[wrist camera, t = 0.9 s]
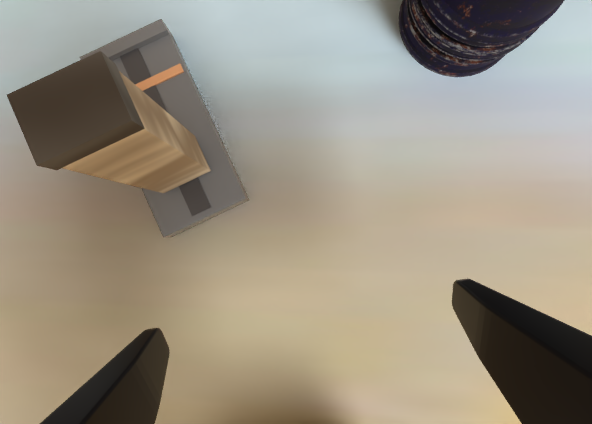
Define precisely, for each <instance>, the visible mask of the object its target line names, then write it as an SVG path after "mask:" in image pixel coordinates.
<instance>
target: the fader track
mask: <svg viewBox="0 0 592 424" xmlns="http://www.w3.org/2000/svg"><path fill="white" fill-rule="evenodd" d="M99 51H101V52H103V53H104V54H105V55H106V56H107V57H108V58H109V59H111V60H112V61H113V62H114V63H115V64H116V66H117V68H118V70H119V71H120V72H121V73H122V74H123V75H124V76H126V77H127V78H128V79H129V80H130V81H131V82H133V83H134V84H135V85H136V86H137V87H138V88H140V89H141V90H142V91H143V92H144V93H145V94H147V95H148V96H149V97H150V98H151V99H152V100H154V101H155V102H156V103H157V104H158V105H159V106H161V107H162V108H163V109H164V110H165V111H166V112H168V113H169V114H170V115H171V116H172V117H173V118H175V119H176V120H177V121H178V122H179V123H180V124H182V125H183V126H184V127H185V128H186V129H187V130H188V131H190V132H191V133H192V134H193V135H194V136H195V137H196V139H197V142H198V144H199V146H200V148H201V150H202V152H203V155H204V157H205V159H206V161H207V163H208V165H209V168H210V170H211V171H210V172H208V173H206V174H203V175H201V176H199V177H197V178H195V179H193V180H191V181H189V182H187V183H184V184H182V185H180V186H178V187H176V188H174V189H172V190H170V191H168V192H165V193H160V192H156V191H152V190H148V189H144V188H142V190H143V193H144V195H145V197H146V199H147V202H148V204H149V206H150V208H151V211H152V213H153V215H154V217H155V219H156V222H157V224H158V226H159V228H160V231H161V233H162V235H163V237H173V236H175V235H177V234H179V233H181V232H183V231H185V230H187V229H189V228H192V227H194V226H196V225H198V224H200V223H202V222H204V221H206V220H208V219H210V218H213V217H215V216H217V215H219V214H221V213H223V212H225V211H227V210H229V209H232V208H234V207H236V206H238V205H240V204H242V203H244V202H246V201H248V200H249V198H248V196H247V194H246V192H245V189H244V187H243V185H242V183H241V181H240V179H239V177H238V174H237V172H236V170H235V168H234V166H233V164H232V162H231V160H230V157H229V155H228V153H227V151H226V149H225V147H224V145H223V142H222V140H221V138H220V136H219V134H218V132H217V130H216V127H215V125H214V123H213V121H212V119H211V117H210V115H209V112H208V110H207V108H206V106H205V104H204V102H203V100H202V97H201V95H200V93H199V91H198V89H197V87H196V85H195V83H194V80H193V78H192V76H191V74H190V72H189V70H188V68H187V65H186V63H185V61H184V59H183V57H182V55H181V53H180V50H179V48H178V46H177V44H176V42H175V40H174V38H173V35H172V34H171V32H170V31H169V29H168V28H167V26H166V25H165V23H164V22H163V20H162V19H160V20H158V21H156V22H154V23H151V24H149V25H147V26H145V27H143V28H141V29H139V30H137V31H134V32H132V33H130V34H128V35H126V36H124V37H122V38H120V39H118V40H115V41H113V42H111V43H109V44H107V45H105V46H103V47H101V48H98V49H96V50H94V51H92V52H90V53H88V54H86V55H84V56H81V57H80V58H81V60H82V59H84V58H86V57H88V56H90V55H93V54H95V53H97V52H99Z"/></svg>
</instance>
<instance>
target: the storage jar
mask: <svg viewBox="0 0 592 424" xmlns="http://www.w3.org/2000/svg"><path fill="white" fill-rule="evenodd" d="M563 1H564V0H403V1H402V4H401V7H400V13H399V28H400V34H401V37H402V40H403V42H404V44H405V46H406V48H407V50H408V51H409V53H410V54H411V55H412V57H413V58H414V59H415V60H416V61H417V62H418V63H420V64H421V65H423V66H424V67H425V68H427V69H429V70H431V71H433V72H435V73H438V74H441V75H445V76H451V77H465V76H471V75H475V74H478V73H481V72H483V71H485V70H487V69H489V68H490V67H492V66H493V65H495V64H496V63H497V62H498V61H499V60H500V59H501V58H503V57H504V56H505V55H506V54H507V53H509V52H511V51H512V50H514V49H515V48H517V47H518V46H519V45H521V44H522V43H523V42H524V41H525V40H526V39H528V38H529V37H530V36H531V35H532V34H533V33H534V32H535V31H536V30H537V29H538V28H539V27H540V26H541V25H542V24H543V23H544V22H545V21H547V20H548V19H549V18H550V17H551V16H552V15H553V14H554V13H555V12H556V11H557V9H558V8H559V7H560V5H561V4H562V3H563Z"/></svg>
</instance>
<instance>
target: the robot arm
mask: <svg viewBox="0 0 592 424" xmlns="http://www.w3.org/2000/svg"><path fill="white" fill-rule="evenodd" d="M452 306H453V309H454V311H455V313H456V315H457V317H458V319H459V321H460V323H461V325H462V327H463V328H464V330H465V332H466V334H467V336H468V338H469V340H470V342H471V344H472V346H473V348H474V350H475V351H476V353H477V355H478V357H479V359H480V360H481V362H482V363H483V365H484V366H485V368H486V370H487V371H488V373H489V374H490V376H491V377H492V379H493V380H494V382H495V383H496V385H497V386H498V388H499V389H500V391H501V393H502V394H503V396H504V397H505V399H506V400H507V402H508V403H509V405H510V406H511V408H512V409H513V411H514V412H515V414H516V415H517V417H518V419H519V420H520V422H521V423H522V424H592V336H591V335H589V334H587V333H585V332H582V331H580V330H578V329H576V328H574V327H572V326H570V325H567V324H565V323H563V322H561V321H559V320H557V319H555V318H552V317H550V316H548V315H546V314H544V313H542V312H540V311H537V310H535V309H533V308H531V307H529V306H527V305H525V304H522V303H520V302H518V301H516V300H514V299H512V298H510V297H507V296H505V295H503V294H501V293H499V292H497V291H495V290H492V289H490V288H488V287H486V286H484V285H482V284H480V283H477V282H475V281H473V280H471V279H462V280H456V281H455V282H454V284H453V294H452ZM168 358H169V347H168V344H167V342H166V340H165V337H164V335H163V333H162V331H161V330H160V329H159V328H153V329H147V330H145V331H143V332H142V333H141V334H140V335H139V336H138V337H136V338H135V339H134V340H133V341H132V342H131V343H130V344H129V345H127V346H126V347H125V348H124V349H123V350H122V351H121V352H120V353H119V354H117V355H116V356H115V357H114V358H113V359H112V360H111V361H110V362H108V363H107V364H106V365H105V366H104V367H103V368H102V369H101V370H100V371H98V372H97V373H96V374H95V375H94V376H93V377H92V378H91V379H89V380H88V381H87V382H86V383H85V384H84V385H83V386H82V387H80V388H79V389H78V390H77V391H76V392H75V393H74V394H73V395H72V396H70V397H69V398H68V399H67V400H66V401H65V402H64V403H63V404H61V405H60V406H59V407H58V408H57V409H56V410H55V411H54V412H52V413H51V414H50V415H49V416H48V417H47V418H46V419H45V420H44V421H42V422H41V423H40V424H154V423H155V420H156V416H157V413H158V409H159V405H160V400H161V395H162V390H163V385H164V380H165V374H166V369H167V364H168Z"/></svg>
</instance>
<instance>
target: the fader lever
mask: <svg viewBox="0 0 592 424" xmlns="http://www.w3.org/2000/svg"><path fill="white" fill-rule="evenodd" d="M7 97H8V99H9V101H10V104H11V106H12V109H13V111H14V113H15V116H16V118H17V120H18V123H19V125H20V127H21V130H22V132H23V134H24V137H25V139H26V141H27V144H28V146H29V148H30V151H31V153H32V155H33V158H34V160H35V162H36V165H37V166H41V167H46V168H50V169H54V170H58V169H61V168H64V169H68V170H72V171H76V172H80V173H84V174H88V175H92V176H96V177H100V178H104V179H108V180H112V181H116V182H120V183H124V184H128V185H132V186H136V187H140V188H144V189H148V190H152V191H156V192H160V193H165V192H168V191H170V190H172V189H174V188H176V187H178V186H180V185H182V184H184V183H187V182H189V181H191V180H193V179H195V178H197V177H199V176H201V175H203V174H206V173H208V172H210V171H211V170H210V168H209V165H208V163H207V161H206V159H205V157H204V155H203V152H202V150H201V148H200V146H199V144H198V142H197V139H196V137H195V136H194V135H193V134H192V133H191V132H190V131H188V130H187V129H186V128H185V127H184V126H183V125H182V124H180V123H179V122H178V121H177V120H176V119H175V118H173V117H172V116H171V115H170V114H169V113H168V112H166V111H165V110H164V109H163V108H162V107H161V106H159V105H158V104H157V103H156V102H155V101H154V100H152V99H151V98H150V97H149V96H148V95H147V94H145V93H144V92H143V91H142V90H141V89H140V88H138V87H137V86H136V85H135V84H134V83H133V82H131V81H130V80H129V79H128V78H127V77H126V76H124V75H123V74H122V73H121V72H120V71H119V70H118V68H117V66H116V64H115V63H114V62H113V61H112V60H111V59H109V58H108V57H107V56H106V55H105V54H104V53H103V52H101V51H99V52H97V53H95V54H93V55H90V56H88V57H86V58H84V59H82V60H80V61H78V62H76V63H73V64H71V65H69V66H67V67H65V68H63V69H61V70H59V71H56V72H54V73H52V74H50V75H48V76H46V77H44V78H42V79H40V80H37V81H35V82H33V83H31V84H29V85H27V86H25V87H23V88H20V89H18V90H16V91H14V92H12V93H10V94H8V95H7Z"/></svg>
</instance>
